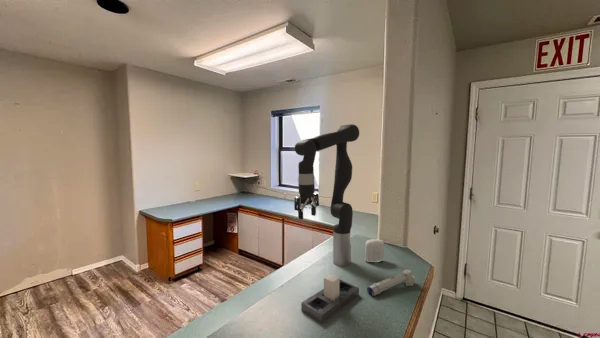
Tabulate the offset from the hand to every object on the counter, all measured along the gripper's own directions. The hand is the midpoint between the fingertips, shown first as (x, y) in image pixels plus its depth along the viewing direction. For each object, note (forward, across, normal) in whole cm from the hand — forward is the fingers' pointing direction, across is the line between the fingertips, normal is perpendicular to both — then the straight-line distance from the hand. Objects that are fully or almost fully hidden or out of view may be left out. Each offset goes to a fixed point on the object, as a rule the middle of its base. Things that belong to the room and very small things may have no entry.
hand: (307, 217), depth 111 cm
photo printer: (+31, +38, -13) cm, 51 cm away
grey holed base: (+29, -8, -20) cm, 36 cm away
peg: (+29, -8, -19) cm, 36 cm away
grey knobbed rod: (+31, +19, -32) cm, 48 cm away
